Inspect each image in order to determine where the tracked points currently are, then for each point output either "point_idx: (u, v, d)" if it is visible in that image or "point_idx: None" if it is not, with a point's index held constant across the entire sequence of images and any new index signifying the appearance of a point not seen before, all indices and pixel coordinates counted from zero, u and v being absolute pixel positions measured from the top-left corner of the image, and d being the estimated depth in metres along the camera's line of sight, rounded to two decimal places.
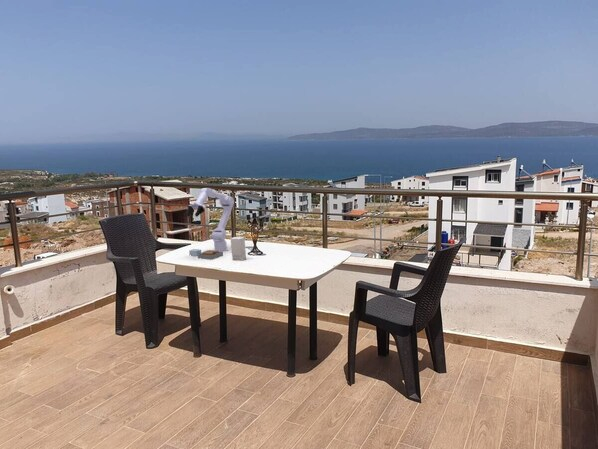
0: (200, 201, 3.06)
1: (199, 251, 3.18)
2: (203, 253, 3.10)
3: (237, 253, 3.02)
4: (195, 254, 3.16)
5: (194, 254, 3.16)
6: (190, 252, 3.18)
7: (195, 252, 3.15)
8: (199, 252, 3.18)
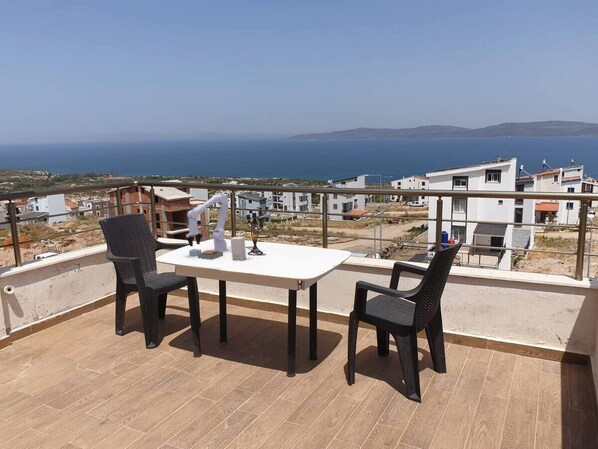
0: None
1: (199, 251, 3.18)
2: (203, 253, 3.10)
3: (237, 253, 3.02)
4: (195, 254, 3.16)
5: (194, 254, 3.16)
6: (190, 252, 3.18)
7: (195, 252, 3.15)
8: (199, 252, 3.18)
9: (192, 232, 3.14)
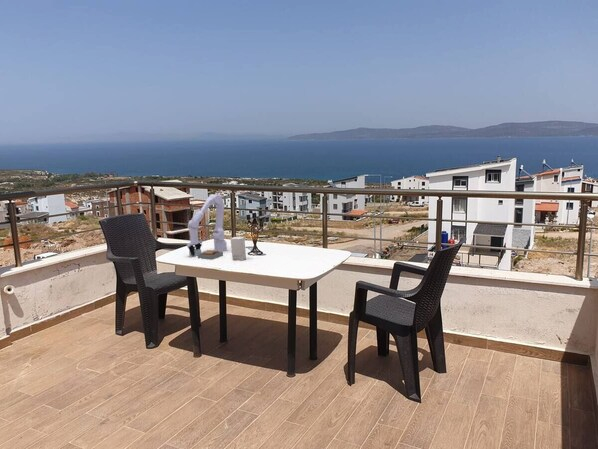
0: (190, 239, 3.16)
1: (199, 251, 3.18)
2: (203, 253, 3.10)
3: (237, 253, 3.02)
4: (195, 254, 3.16)
5: (194, 254, 3.16)
6: (190, 252, 3.18)
7: (195, 252, 3.15)
8: (199, 252, 3.18)
9: (193, 242, 3.15)
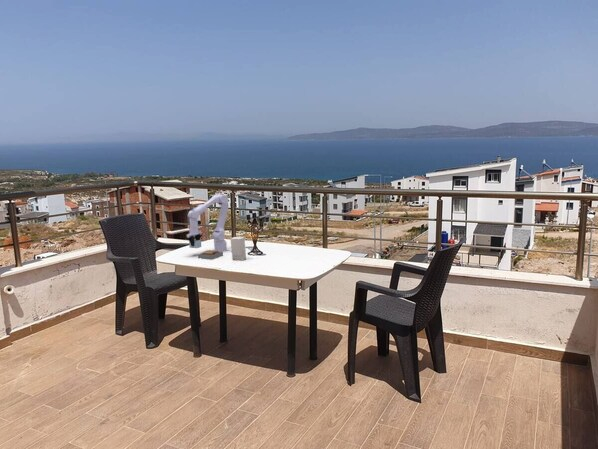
0: (190, 229, 3.15)
1: (199, 242, 3.16)
2: (203, 253, 3.10)
3: (237, 253, 3.02)
4: (195, 244, 3.14)
5: (194, 245, 3.15)
6: (190, 243, 3.16)
7: (195, 242, 3.14)
8: (199, 243, 3.16)
9: (193, 232, 3.13)
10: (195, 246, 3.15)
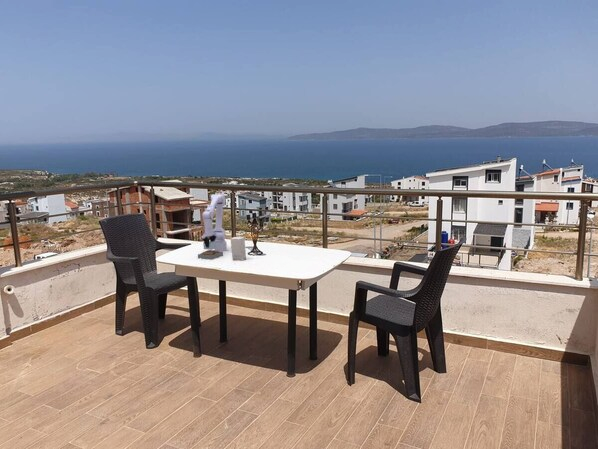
0: None
1: (213, 243, 3.10)
2: (203, 253, 3.10)
3: (237, 253, 3.02)
4: (209, 246, 3.08)
5: (209, 246, 3.09)
6: (204, 244, 3.10)
7: (209, 244, 3.08)
8: (213, 244, 3.10)
9: (207, 233, 3.07)
10: (210, 247, 3.08)
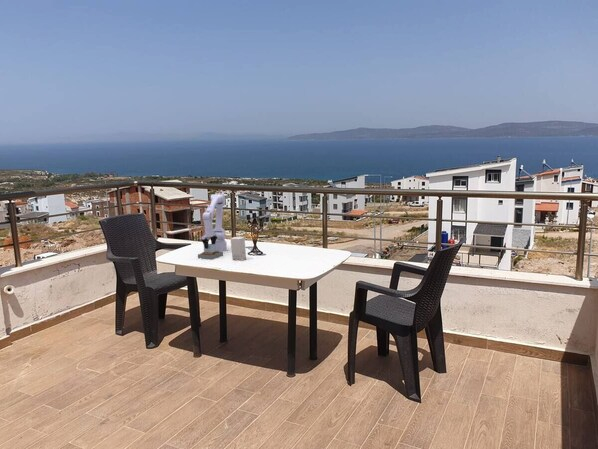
0: (205, 231, 3.09)
1: (214, 246, 3.10)
2: (203, 253, 3.10)
3: (237, 253, 3.02)
4: (210, 249, 3.09)
5: (209, 249, 3.09)
6: (204, 247, 3.11)
7: (210, 247, 3.08)
8: (214, 247, 3.11)
9: (207, 234, 3.07)
10: (210, 250, 3.09)
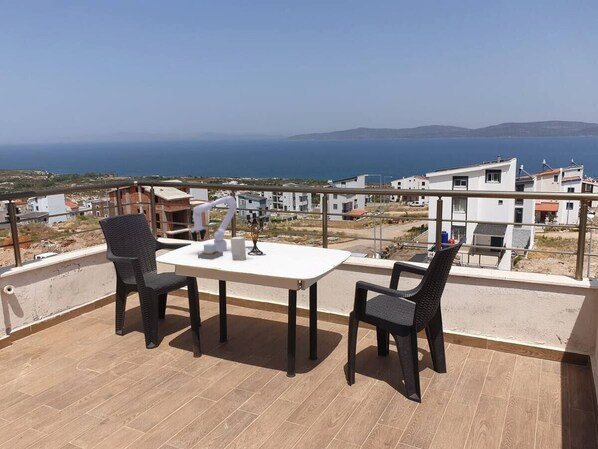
0: (194, 225, 3.22)
1: (214, 246, 3.10)
2: (203, 253, 3.10)
3: (237, 253, 3.02)
4: (210, 249, 3.09)
5: (209, 249, 3.09)
6: (204, 247, 3.11)
7: (210, 247, 3.08)
8: (214, 247, 3.11)
9: (197, 227, 3.21)
10: (210, 250, 3.09)
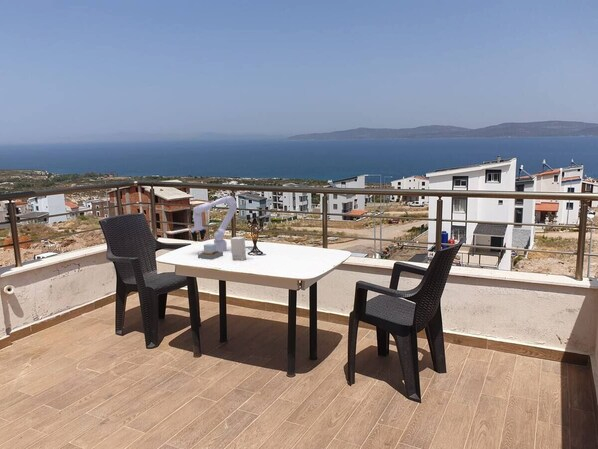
0: (194, 225, 3.22)
1: (214, 246, 3.10)
2: (203, 253, 3.10)
3: (237, 253, 3.02)
4: (210, 249, 3.09)
5: (209, 249, 3.09)
6: (204, 247, 3.11)
7: (210, 247, 3.08)
8: (214, 247, 3.11)
9: (197, 227, 3.21)
10: (210, 250, 3.09)
